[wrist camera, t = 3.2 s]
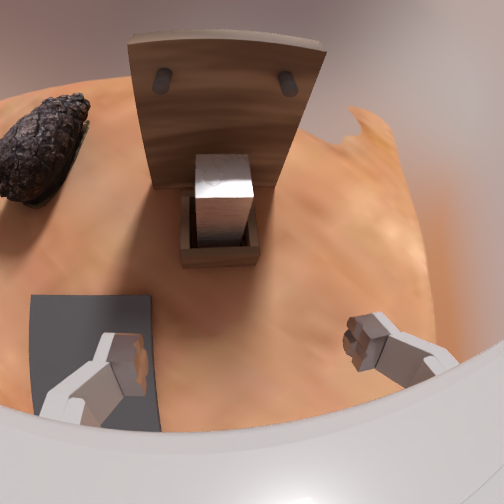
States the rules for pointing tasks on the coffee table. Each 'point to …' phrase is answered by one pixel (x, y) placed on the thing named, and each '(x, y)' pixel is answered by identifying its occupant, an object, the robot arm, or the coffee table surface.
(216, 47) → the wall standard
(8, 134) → the dark porous rock
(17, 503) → the robot arm
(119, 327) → the rubber mat
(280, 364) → the coffee table surface
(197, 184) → the light gray square block
